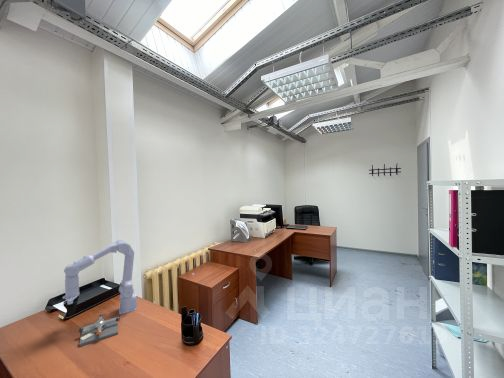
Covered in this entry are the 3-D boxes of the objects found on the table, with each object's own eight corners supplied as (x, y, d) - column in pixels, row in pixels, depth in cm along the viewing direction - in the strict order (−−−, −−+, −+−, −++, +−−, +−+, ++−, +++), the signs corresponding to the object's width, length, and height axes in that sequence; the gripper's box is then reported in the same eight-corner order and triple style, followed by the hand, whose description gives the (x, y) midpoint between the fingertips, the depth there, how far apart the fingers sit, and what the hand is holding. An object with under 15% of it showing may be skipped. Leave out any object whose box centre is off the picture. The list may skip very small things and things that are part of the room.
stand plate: (117, 318, 126) (117, 316, 126) (118, 334, 112) (118, 331, 112) (82, 328, 117) (82, 326, 117) (78, 347, 103) (78, 344, 103)
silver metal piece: (119, 314, 127) (119, 308, 127) (120, 331, 112) (120, 324, 112) (80, 325, 117) (80, 318, 117) (75, 346, 102) (75, 338, 102)
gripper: (65, 283, 120) (65, 307, 120) (59, 294, 108) (60, 320, 108) (81, 280, 124) (81, 303, 124) (77, 290, 112) (77, 316, 112)
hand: (72, 311), depth 116 cm, fingers open, 7 cm apart
